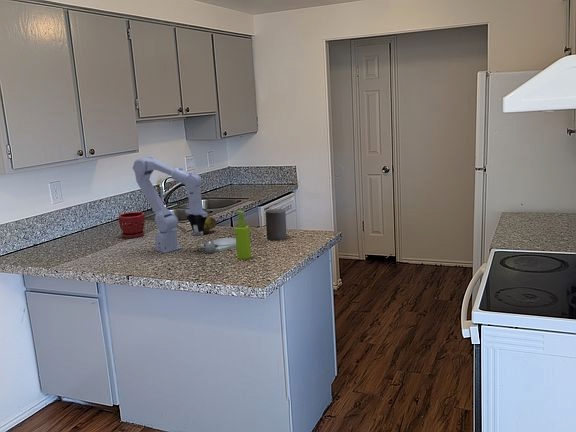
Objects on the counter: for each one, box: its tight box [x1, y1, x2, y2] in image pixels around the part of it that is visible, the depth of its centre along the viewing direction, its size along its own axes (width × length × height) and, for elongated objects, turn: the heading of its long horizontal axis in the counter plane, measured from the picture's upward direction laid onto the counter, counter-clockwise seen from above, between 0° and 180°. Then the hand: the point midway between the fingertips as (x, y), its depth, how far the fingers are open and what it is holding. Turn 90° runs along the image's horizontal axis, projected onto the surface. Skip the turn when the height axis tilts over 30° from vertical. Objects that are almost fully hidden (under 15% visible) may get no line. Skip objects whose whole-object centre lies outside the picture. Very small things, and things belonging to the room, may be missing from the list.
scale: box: [198, 237, 237, 253], centre depth 259 cm, size 16×15×2 cm
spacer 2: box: [204, 240, 216, 255], centre depth 247 cm, size 4×4×5 cm
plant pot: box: [118, 211, 146, 239], centre depth 291 cm, size 13×13×12 cm
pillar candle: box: [264, 208, 288, 242], centre depth 265 cm, size 10×10×15 cm
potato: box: [192, 216, 217, 234], centre depth 288 cm, size 8×13×8 cm, turn 110°
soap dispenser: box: [232, 210, 252, 260], centre depth 234 cm, size 6×7×20 cm
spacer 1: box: [193, 224, 204, 237], centre depth 252 cm, size 4×4×5 cm
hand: (198, 231), depth 252 cm, fingers closed on spacer 1, 4 cm apart
